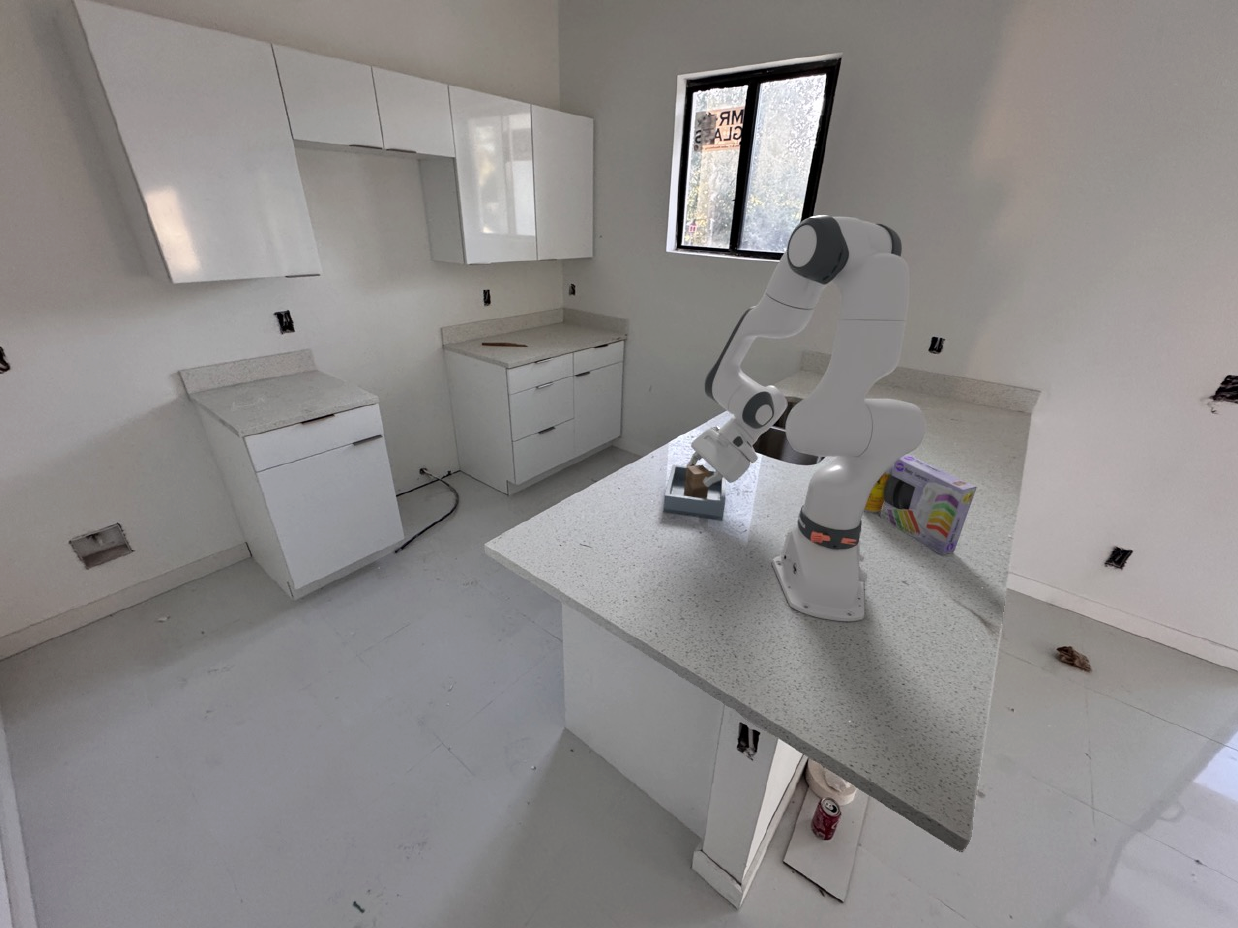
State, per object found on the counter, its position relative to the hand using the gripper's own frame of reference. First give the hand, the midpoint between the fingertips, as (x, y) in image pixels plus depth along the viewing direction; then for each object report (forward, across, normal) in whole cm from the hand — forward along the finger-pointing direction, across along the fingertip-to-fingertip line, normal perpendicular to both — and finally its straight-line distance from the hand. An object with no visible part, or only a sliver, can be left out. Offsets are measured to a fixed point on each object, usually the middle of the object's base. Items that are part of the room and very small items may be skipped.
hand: (696, 476), depth 131 cm
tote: (+5, 0, +5) cm, 7 cm away
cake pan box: (-28, +29, +38) cm, 55 cm away
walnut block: (+4, 0, +4) cm, 6 cm away
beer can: (-26, +16, +36) cm, 48 cm away
